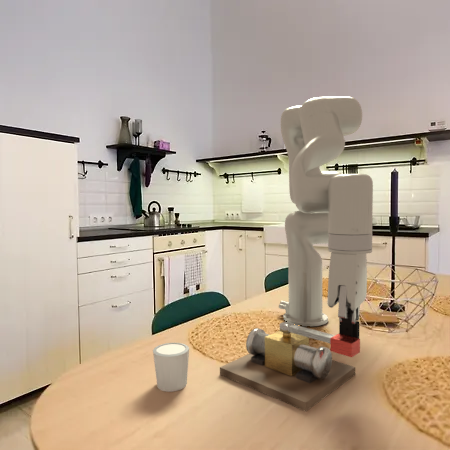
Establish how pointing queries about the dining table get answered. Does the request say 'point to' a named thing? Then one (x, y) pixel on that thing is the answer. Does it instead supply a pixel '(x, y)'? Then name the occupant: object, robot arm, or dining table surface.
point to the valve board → (286, 381)
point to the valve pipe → (289, 354)
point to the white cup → (171, 366)
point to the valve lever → (326, 339)
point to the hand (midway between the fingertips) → (349, 342)
